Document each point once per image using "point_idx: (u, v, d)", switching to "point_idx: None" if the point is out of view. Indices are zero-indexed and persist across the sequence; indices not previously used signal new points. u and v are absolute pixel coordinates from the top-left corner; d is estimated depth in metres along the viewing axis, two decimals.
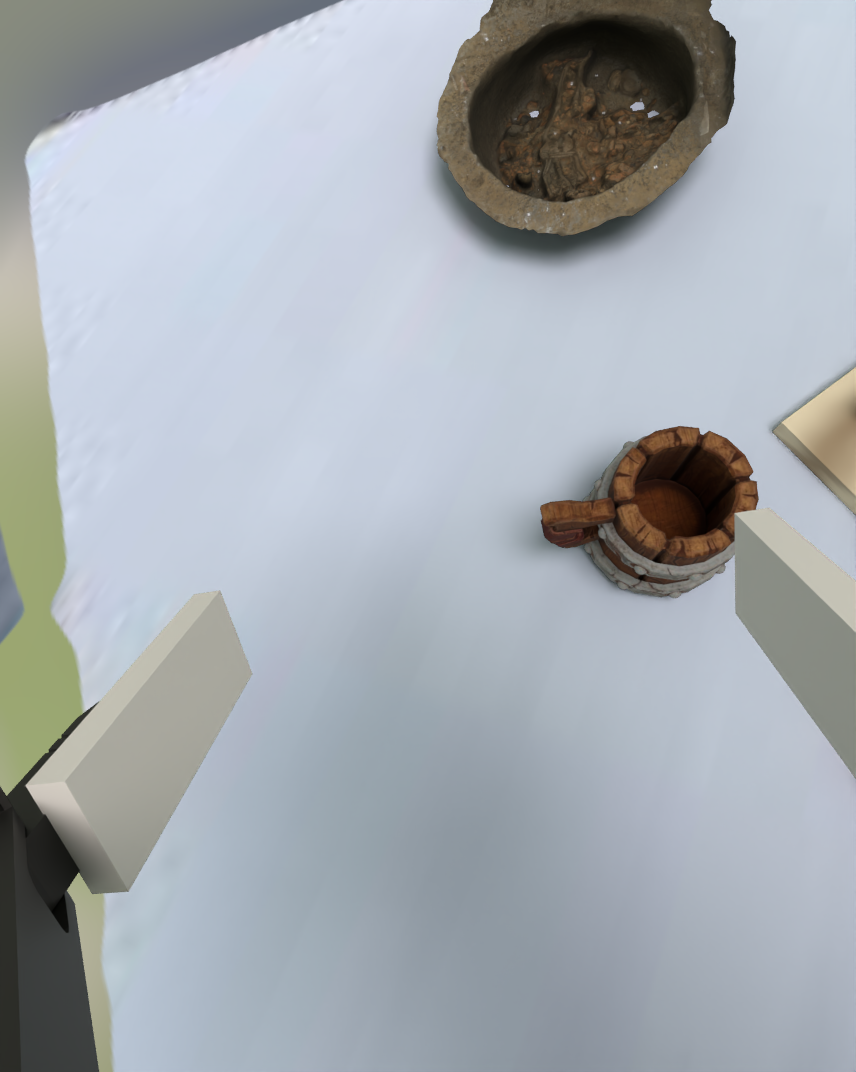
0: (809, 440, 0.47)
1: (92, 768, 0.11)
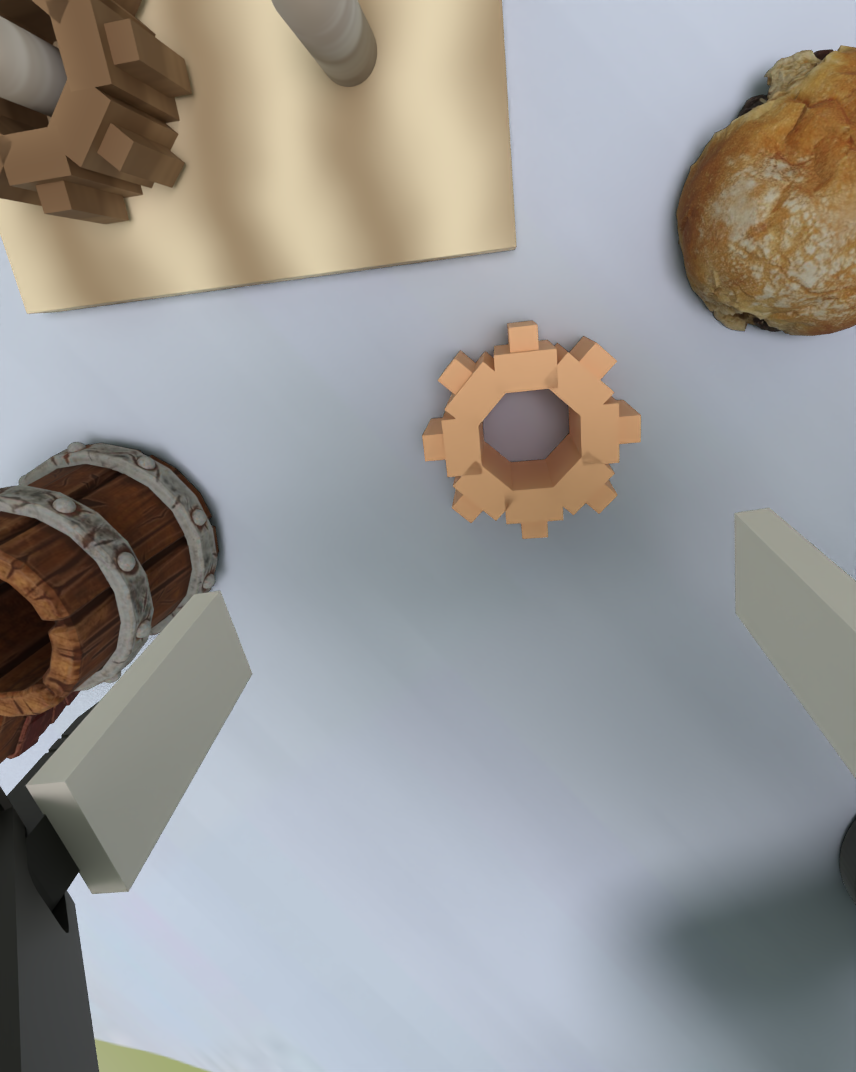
0: (67, 296, 0.29)
1: (92, 768, 0.11)
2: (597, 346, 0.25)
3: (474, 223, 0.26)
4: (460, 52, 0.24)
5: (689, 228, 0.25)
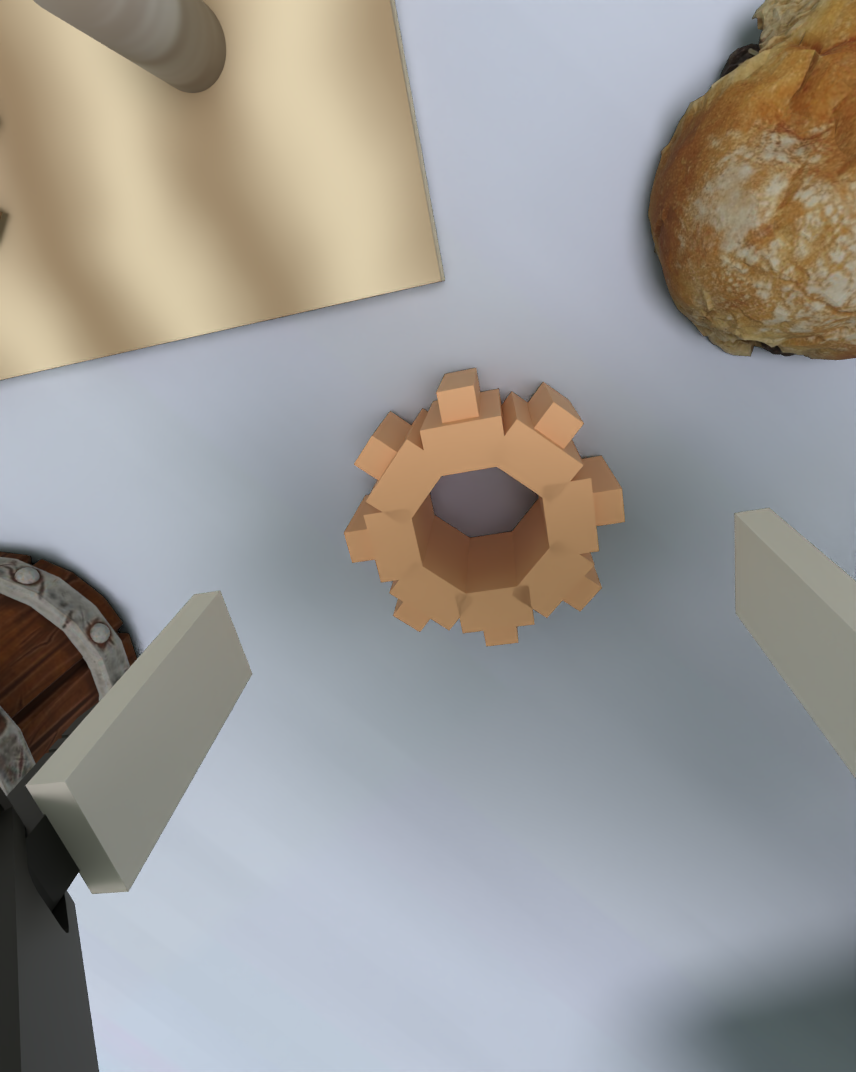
0: None
1: (92, 768, 0.11)
2: (555, 406, 0.19)
3: (383, 255, 0.20)
4: (335, 32, 0.18)
5: (666, 235, 0.19)
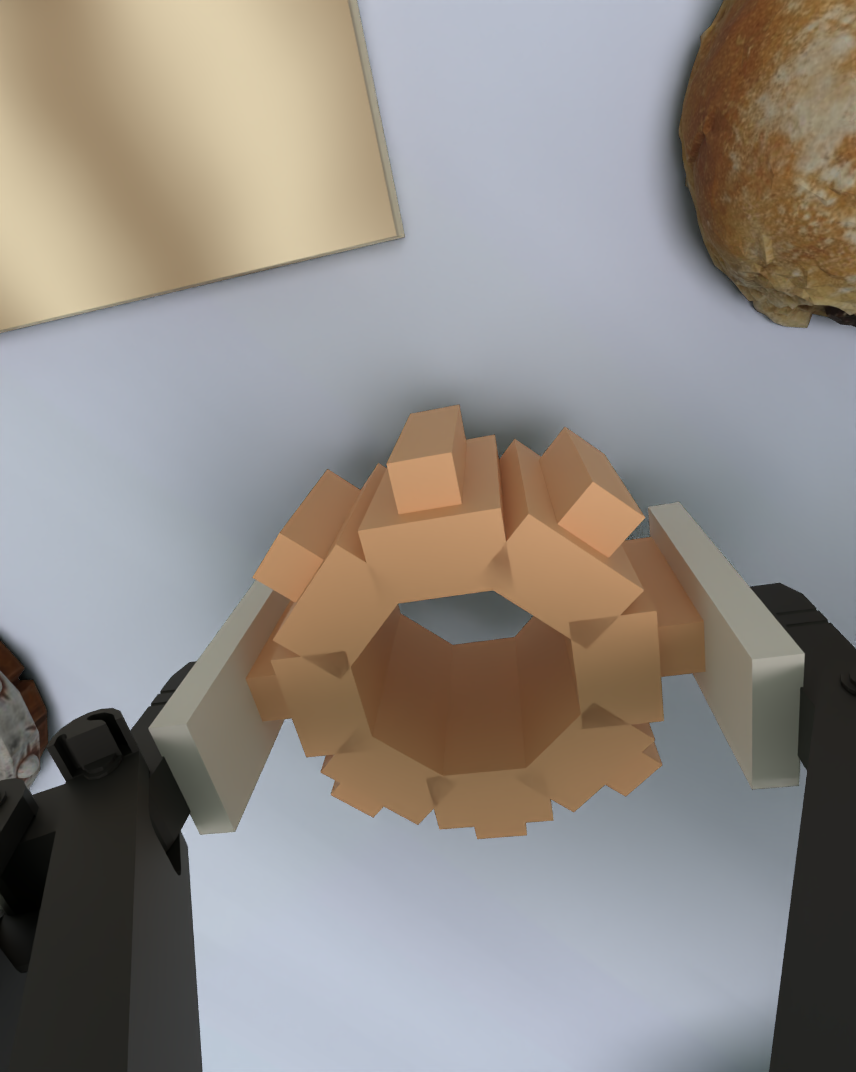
0: None
1: (205, 715, 0.11)
2: (596, 489, 0.11)
3: (316, 200, 0.15)
4: None
5: (709, 155, 0.13)
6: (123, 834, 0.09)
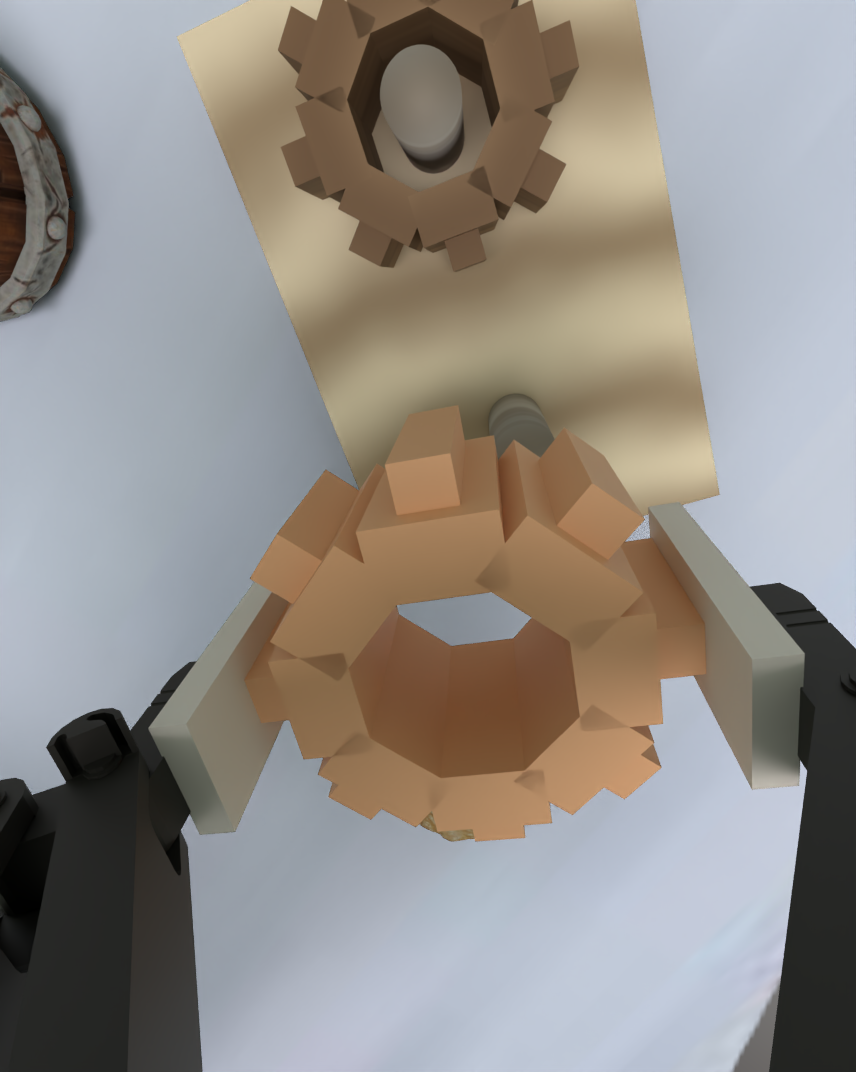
0: (217, 103, 0.23)
1: (204, 715, 0.11)
2: (596, 491, 0.11)
3: None
4: None
5: None
6: (123, 834, 0.09)
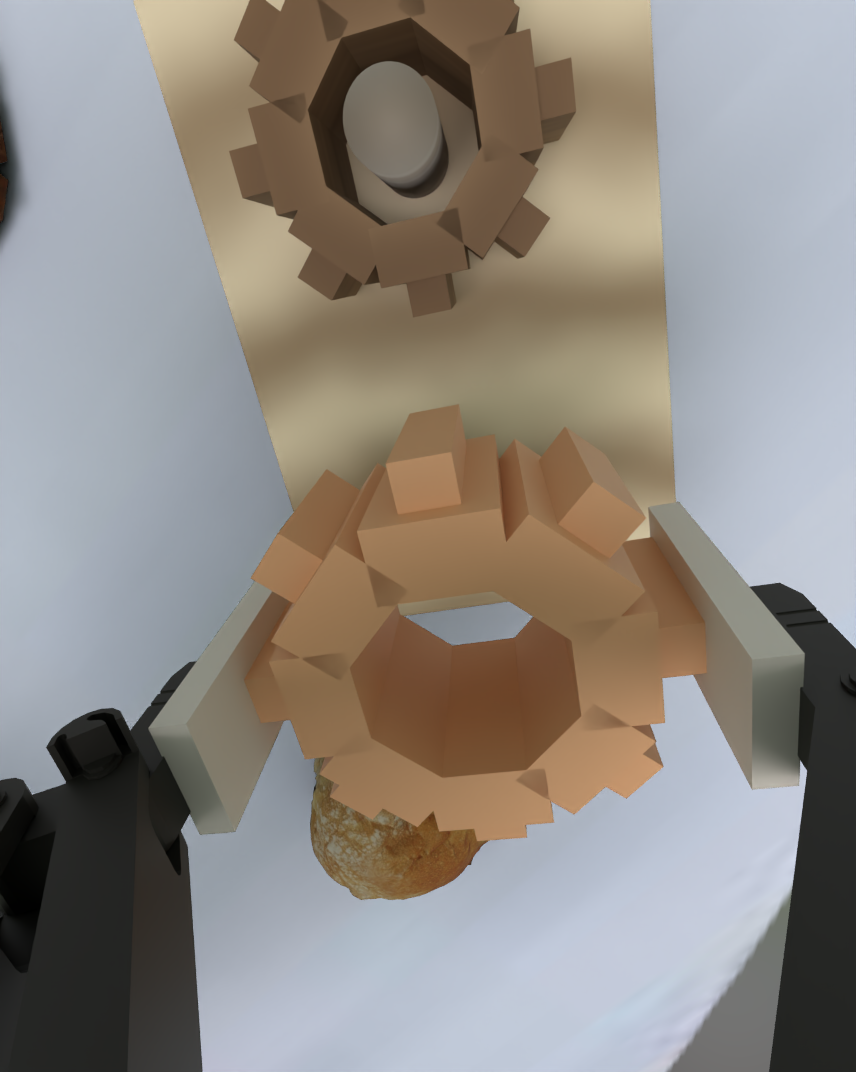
0: (174, 84, 0.20)
1: (204, 714, 0.11)
2: (597, 490, 0.11)
3: None
4: None
5: None
6: (123, 834, 0.09)
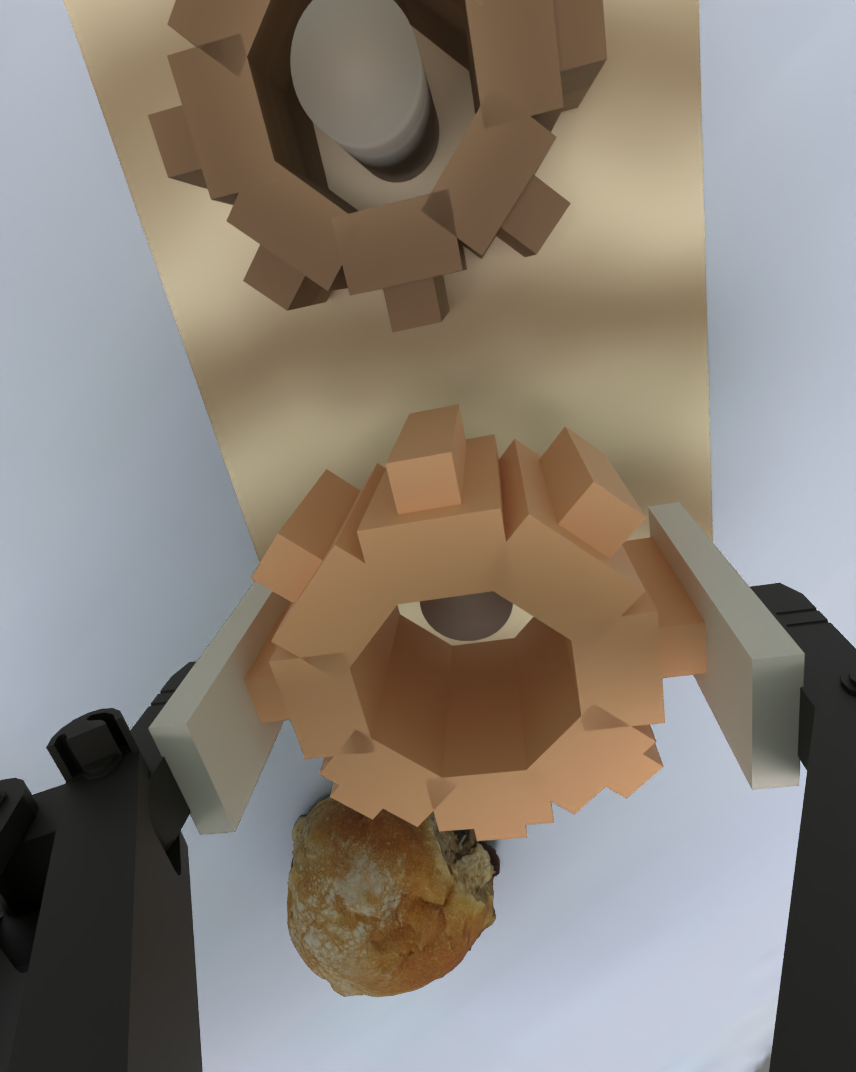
0: (95, 38, 0.16)
1: (204, 714, 0.11)
2: (597, 490, 0.11)
3: None
4: None
5: (352, 824, 0.27)
6: (123, 834, 0.09)
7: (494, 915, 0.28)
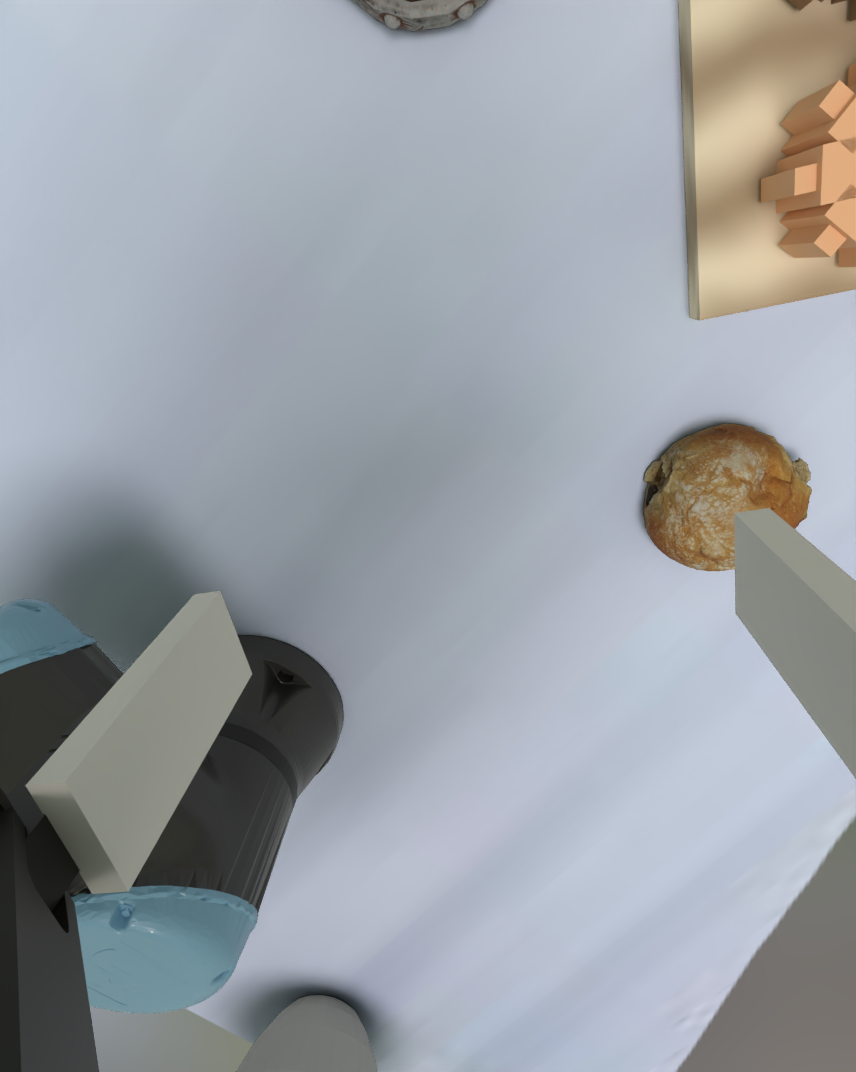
0: None
1: (92, 768, 0.11)
2: None
3: (719, 286, 0.36)
4: (830, 262, 0.35)
5: (722, 433, 0.39)
6: (0, 894, 0.08)
7: (806, 513, 0.41)
